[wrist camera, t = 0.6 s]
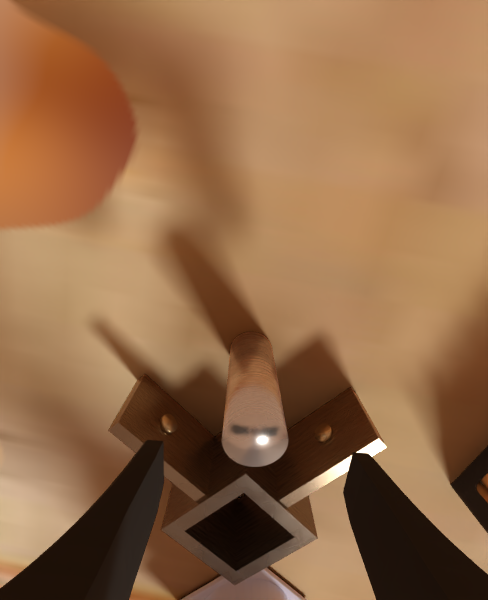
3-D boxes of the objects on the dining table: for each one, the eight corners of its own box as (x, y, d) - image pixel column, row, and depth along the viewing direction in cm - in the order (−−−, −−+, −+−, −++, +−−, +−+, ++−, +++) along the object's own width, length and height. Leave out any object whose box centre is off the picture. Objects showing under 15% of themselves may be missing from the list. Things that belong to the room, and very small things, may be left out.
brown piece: (236, 512, 25) (234, 585, 21) (108, 404, 22) (70, 461, 17) (380, 421, 23) (416, 481, 18) (257, 281, 19) (261, 309, 14)
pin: (248, 376, 21) (251, 476, 14) (221, 349, 21) (208, 438, 13) (280, 353, 21) (301, 444, 13) (253, 323, 20) (259, 401, 13)
